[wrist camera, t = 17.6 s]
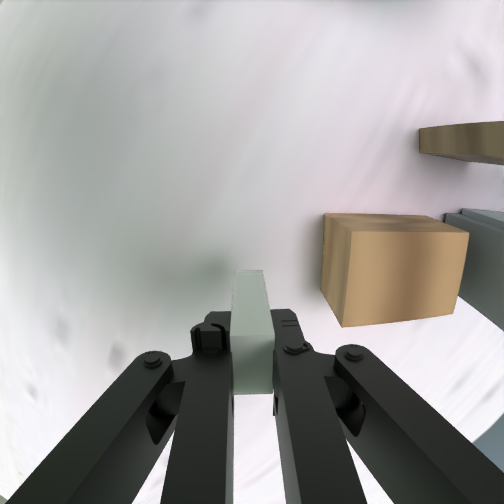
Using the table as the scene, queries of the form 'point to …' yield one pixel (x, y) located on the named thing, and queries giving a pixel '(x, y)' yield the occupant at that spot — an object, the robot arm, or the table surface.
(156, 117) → the table surface
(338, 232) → the block
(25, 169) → the table surface
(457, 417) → the table surface
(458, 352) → the table surface
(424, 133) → the wall frame
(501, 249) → the gate
